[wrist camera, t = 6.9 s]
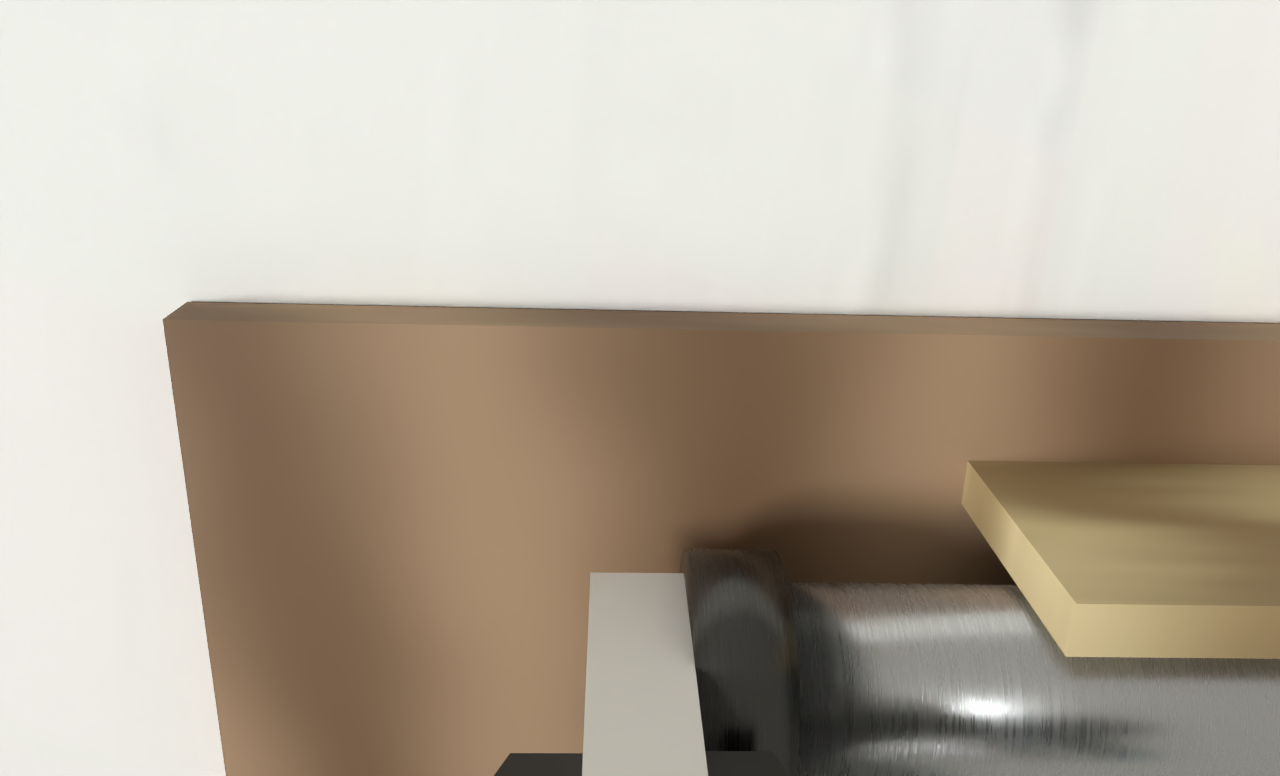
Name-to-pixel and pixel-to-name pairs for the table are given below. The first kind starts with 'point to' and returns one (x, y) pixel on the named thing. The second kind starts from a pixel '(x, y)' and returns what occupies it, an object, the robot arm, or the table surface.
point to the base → (683, 495)
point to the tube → (951, 684)
